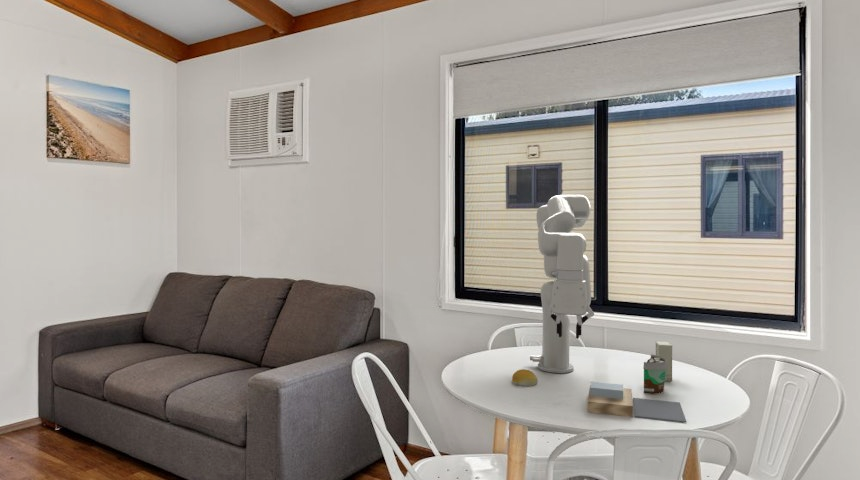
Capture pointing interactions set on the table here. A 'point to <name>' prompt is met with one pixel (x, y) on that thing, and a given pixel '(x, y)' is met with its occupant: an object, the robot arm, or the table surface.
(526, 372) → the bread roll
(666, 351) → the skincare box
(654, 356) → the food container
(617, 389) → the tile
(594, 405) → the wooden block
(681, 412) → the mat
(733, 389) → the table surface
